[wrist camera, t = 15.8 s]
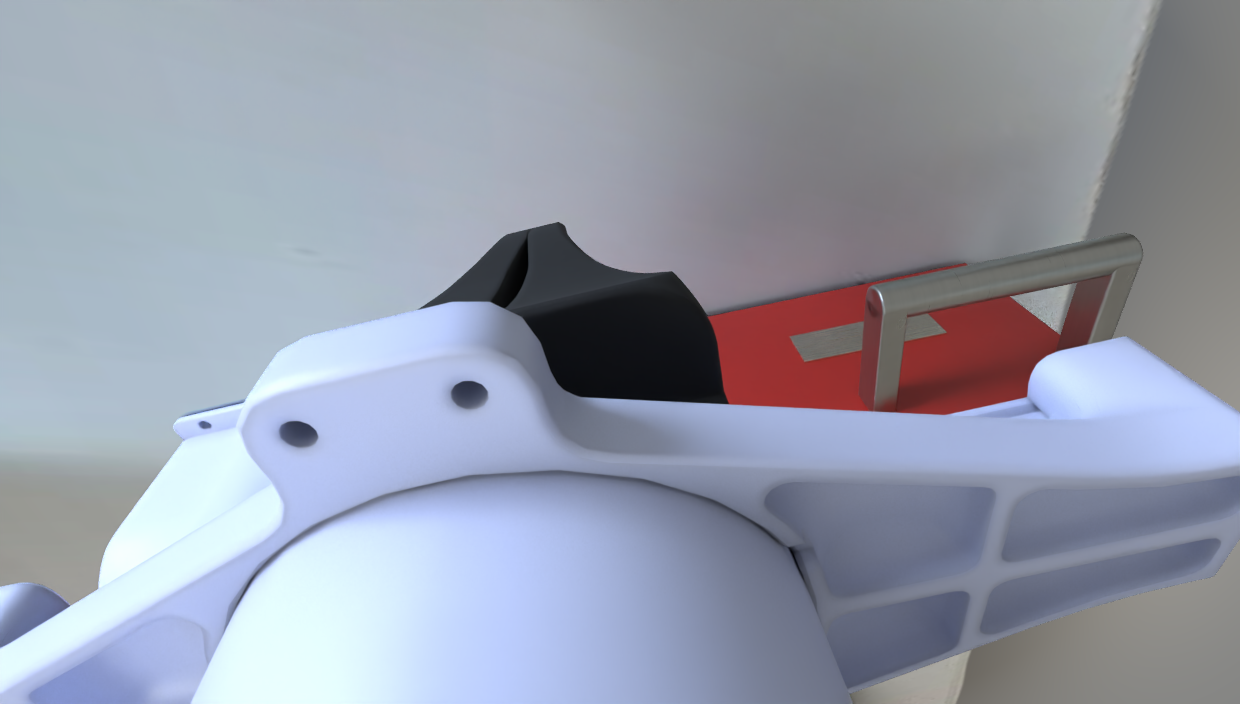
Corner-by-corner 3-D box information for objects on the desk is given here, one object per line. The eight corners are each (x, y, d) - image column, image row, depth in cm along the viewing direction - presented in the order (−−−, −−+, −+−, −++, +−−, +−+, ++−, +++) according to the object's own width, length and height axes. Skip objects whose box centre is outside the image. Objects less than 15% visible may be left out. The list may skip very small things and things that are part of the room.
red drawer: (963, 277, 27) (1118, 402, 19) (694, 333, 27) (747, 476, 20) (985, 157, 24) (1181, 252, 16) (680, 222, 24) (737, 344, 17)
